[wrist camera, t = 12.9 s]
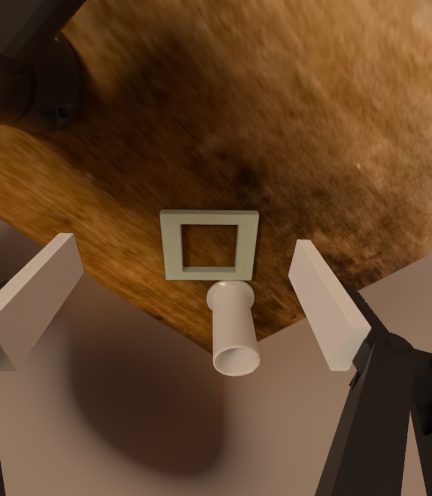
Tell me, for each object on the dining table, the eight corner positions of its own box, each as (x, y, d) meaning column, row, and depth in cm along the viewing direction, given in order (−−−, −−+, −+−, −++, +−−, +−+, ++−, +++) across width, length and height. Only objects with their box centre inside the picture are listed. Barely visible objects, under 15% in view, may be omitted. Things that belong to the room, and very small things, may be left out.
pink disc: (206, 314, 61) (206, 316, 60) (206, 278, 55) (206, 280, 55) (251, 314, 61) (252, 316, 61) (256, 278, 56) (256, 280, 55)
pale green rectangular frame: (167, 274, 55) (166, 279, 53) (161, 209, 47) (159, 213, 45) (250, 274, 55) (251, 280, 53) (257, 210, 47) (259, 214, 46)
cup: (253, 304, 59) (266, 368, 45) (222, 316, 60) (225, 381, 47) (239, 280, 55) (249, 341, 41) (206, 293, 57) (204, 356, 43)
